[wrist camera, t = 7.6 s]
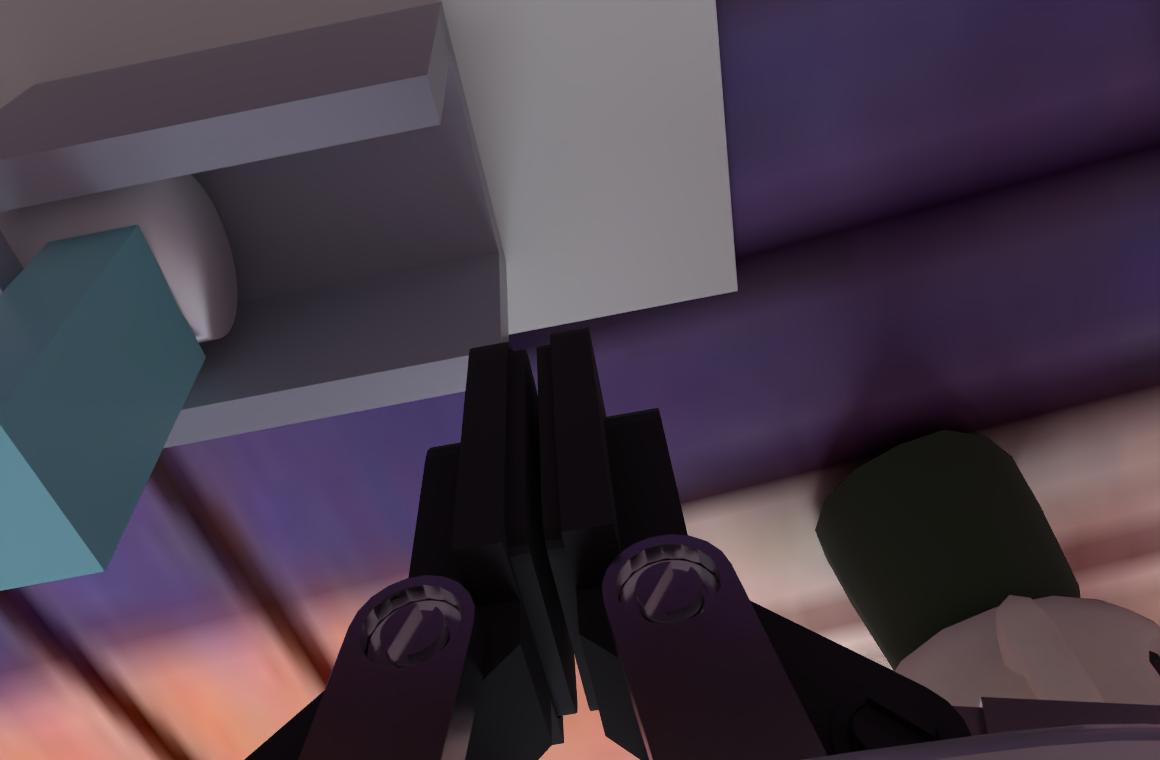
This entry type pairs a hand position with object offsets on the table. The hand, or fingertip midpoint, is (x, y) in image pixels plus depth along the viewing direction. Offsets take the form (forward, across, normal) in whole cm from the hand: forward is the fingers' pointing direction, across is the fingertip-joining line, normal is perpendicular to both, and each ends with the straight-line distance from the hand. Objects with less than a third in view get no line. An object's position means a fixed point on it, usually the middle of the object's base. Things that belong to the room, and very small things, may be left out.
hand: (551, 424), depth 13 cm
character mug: (+11, -9, +13) cm, 19 cm away
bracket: (+9, +5, -1) cm, 11 cm away
